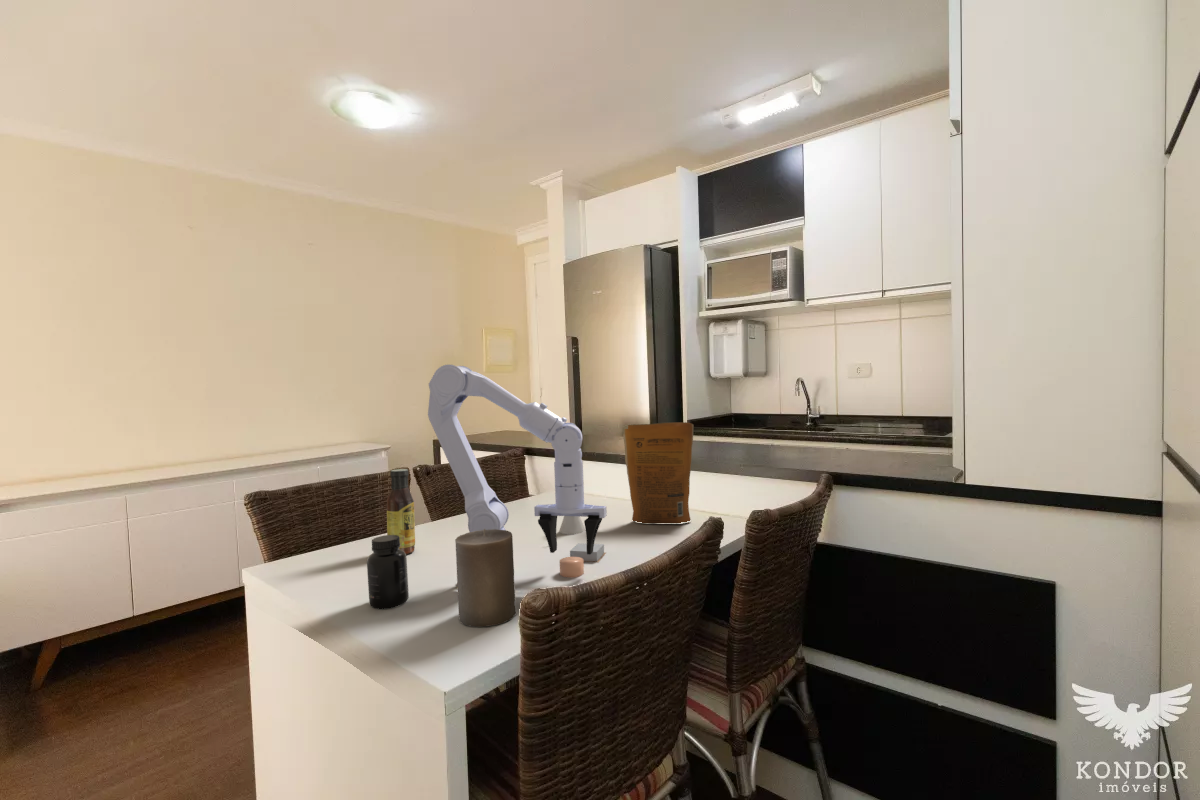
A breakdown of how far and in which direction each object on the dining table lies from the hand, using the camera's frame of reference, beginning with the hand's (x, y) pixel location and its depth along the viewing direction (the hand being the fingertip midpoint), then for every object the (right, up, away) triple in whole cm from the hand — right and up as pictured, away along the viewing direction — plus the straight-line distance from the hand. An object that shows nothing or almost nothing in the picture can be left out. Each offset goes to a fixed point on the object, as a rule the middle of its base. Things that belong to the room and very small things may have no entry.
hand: (571, 552), depth 111 cm
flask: (-1, -5, +32) cm, 33 cm away
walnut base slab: (+3, -6, +11) cm, 13 cm away
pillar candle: (-14, -7, -16) cm, 22 cm away
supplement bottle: (-33, -7, -9) cm, 35 cm away
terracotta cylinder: (0, -6, 0) cm, 6 cm away
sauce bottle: (-42, -6, +22) cm, 48 cm away
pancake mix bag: (+23, -4, +43) cm, 48 cm away
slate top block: (+3, -4, +11) cm, 12 cm away
